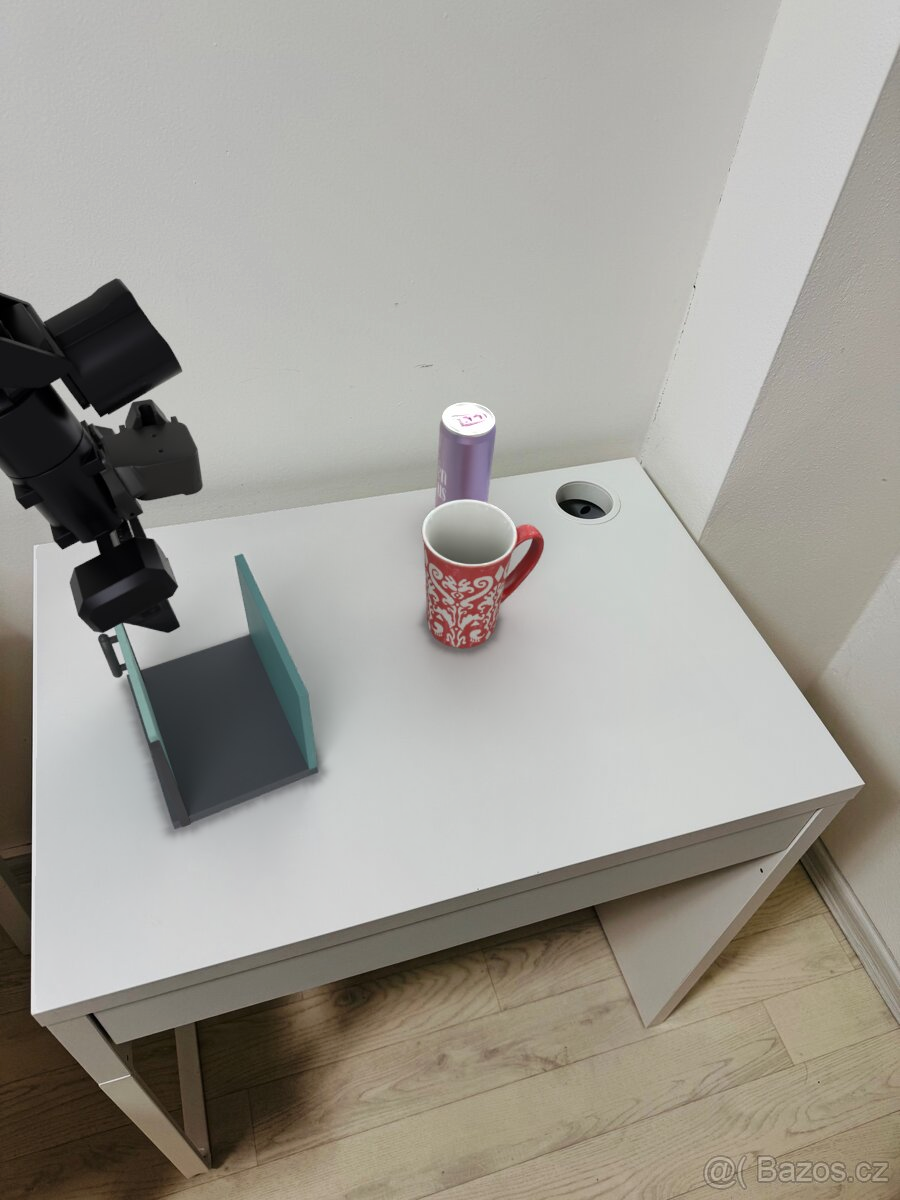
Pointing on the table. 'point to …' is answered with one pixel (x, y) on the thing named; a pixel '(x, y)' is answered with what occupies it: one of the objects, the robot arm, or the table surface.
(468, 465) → the beverage can
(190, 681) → the shower stall
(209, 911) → the table surface
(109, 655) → the shower door
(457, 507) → the mug
